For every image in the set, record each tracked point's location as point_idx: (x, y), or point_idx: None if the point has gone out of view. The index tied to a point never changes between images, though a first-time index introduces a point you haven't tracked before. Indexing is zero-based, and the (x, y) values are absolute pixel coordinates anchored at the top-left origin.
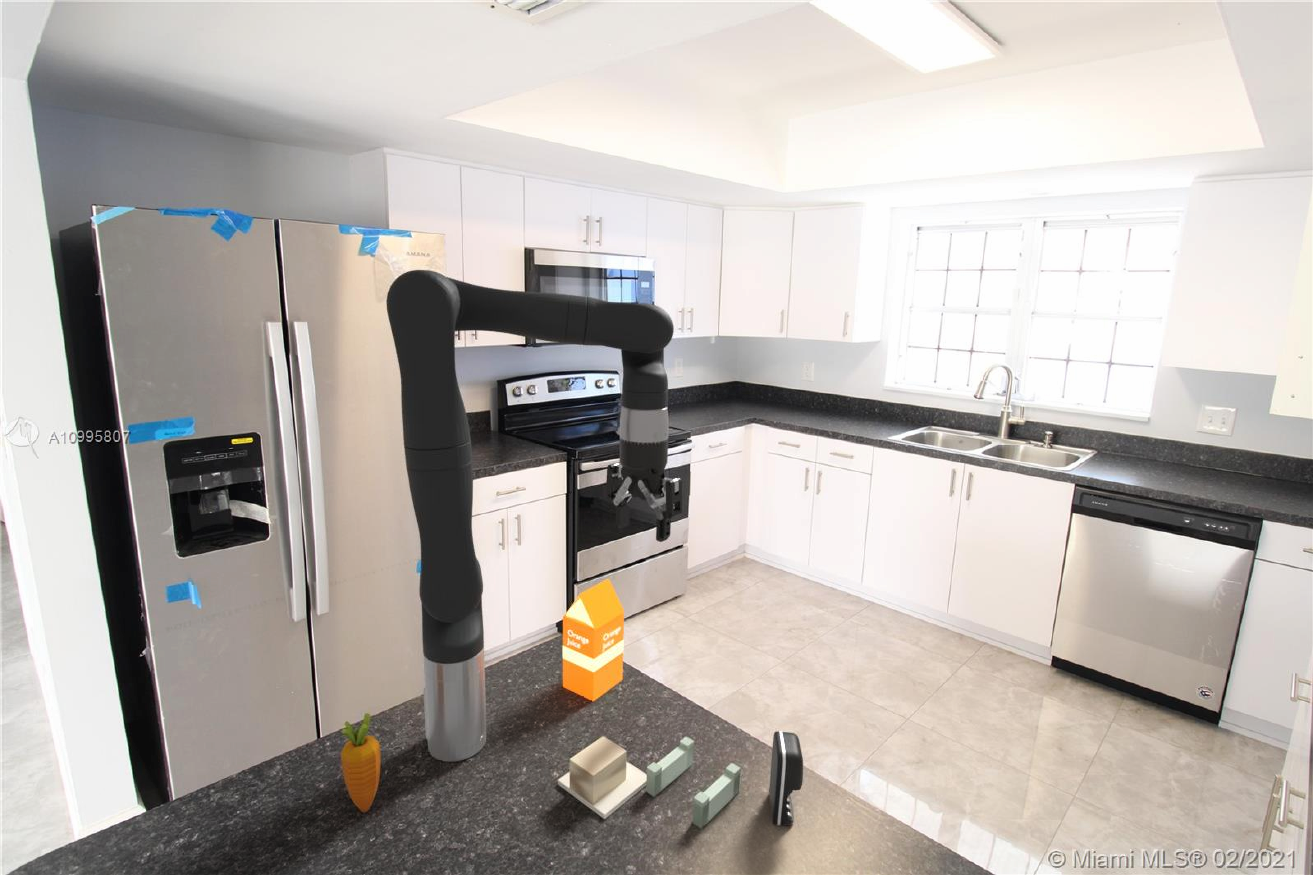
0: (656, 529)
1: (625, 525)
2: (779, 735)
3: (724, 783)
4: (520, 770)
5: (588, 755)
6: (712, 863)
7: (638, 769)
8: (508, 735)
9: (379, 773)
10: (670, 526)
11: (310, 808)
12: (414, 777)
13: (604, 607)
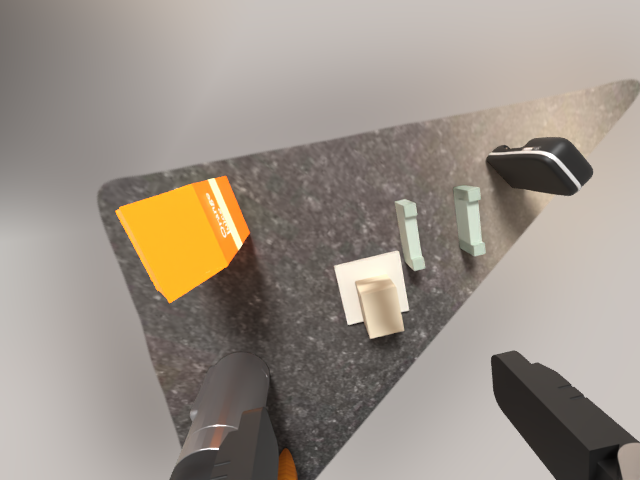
0: (536, 452)
1: (269, 425)
2: (558, 166)
3: (476, 213)
4: (310, 342)
5: (377, 321)
6: (499, 259)
7: (382, 256)
8: (256, 333)
9: (286, 470)
10: (596, 406)
11: None
12: None
13: (188, 235)
